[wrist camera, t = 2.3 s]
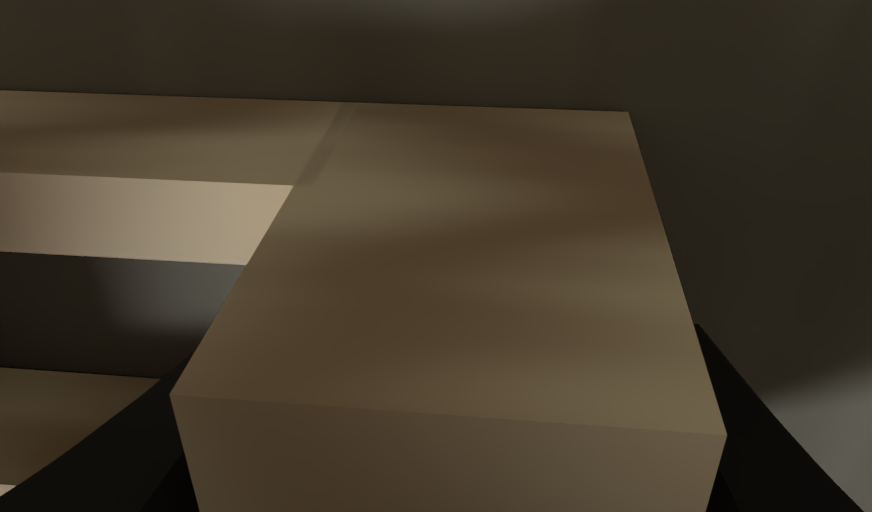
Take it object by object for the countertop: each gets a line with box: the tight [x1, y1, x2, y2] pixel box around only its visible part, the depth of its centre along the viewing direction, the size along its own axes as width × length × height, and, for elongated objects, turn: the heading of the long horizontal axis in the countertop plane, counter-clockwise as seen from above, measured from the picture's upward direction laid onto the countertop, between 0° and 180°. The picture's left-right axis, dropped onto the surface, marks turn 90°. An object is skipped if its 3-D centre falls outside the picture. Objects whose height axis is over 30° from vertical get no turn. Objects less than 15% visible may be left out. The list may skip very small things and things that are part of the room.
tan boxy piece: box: [0, 90, 727, 512], centre depth 9 cm, size 12×9×6 cm
